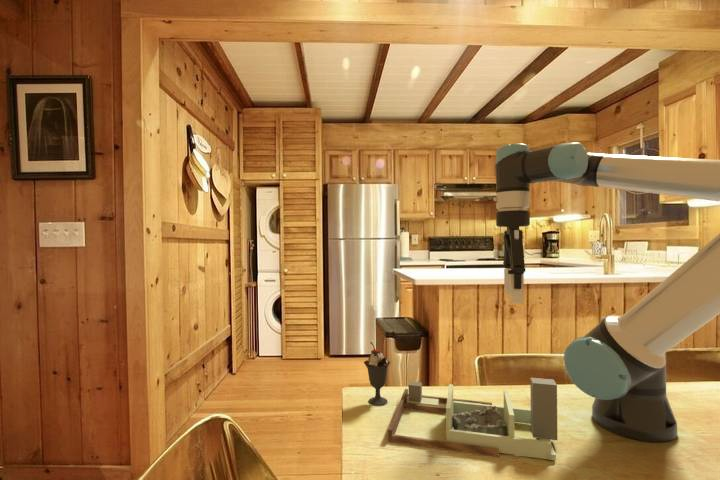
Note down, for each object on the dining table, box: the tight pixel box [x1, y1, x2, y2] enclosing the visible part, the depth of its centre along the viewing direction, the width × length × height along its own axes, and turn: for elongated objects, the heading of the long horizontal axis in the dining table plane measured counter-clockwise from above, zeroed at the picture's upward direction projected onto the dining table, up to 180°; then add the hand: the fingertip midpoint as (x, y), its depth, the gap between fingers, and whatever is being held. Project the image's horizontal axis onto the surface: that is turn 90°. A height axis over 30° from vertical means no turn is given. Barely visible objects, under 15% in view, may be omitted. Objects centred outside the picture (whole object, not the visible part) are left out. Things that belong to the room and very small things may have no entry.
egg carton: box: [452, 405, 507, 436], centre depth 80 cm, size 11×8×4 cm
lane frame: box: [387, 388, 500, 458], centre depth 84 cm, size 21×21×2 cm
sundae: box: [363, 341, 391, 407], centre depth 96 cm, size 7×7×15 cm
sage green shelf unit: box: [445, 377, 558, 461], centre depth 79 cm, size 21×14×12 cm, turn 74°
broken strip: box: [406, 380, 480, 406], centre depth 92 cm, size 18×3×5 cm, turn 74°
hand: (513, 298), depth 91 cm, fingers open, 13 cm apart
